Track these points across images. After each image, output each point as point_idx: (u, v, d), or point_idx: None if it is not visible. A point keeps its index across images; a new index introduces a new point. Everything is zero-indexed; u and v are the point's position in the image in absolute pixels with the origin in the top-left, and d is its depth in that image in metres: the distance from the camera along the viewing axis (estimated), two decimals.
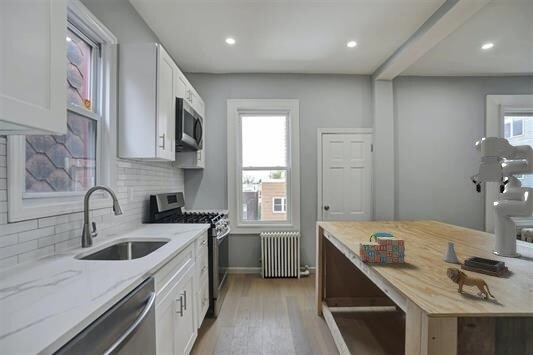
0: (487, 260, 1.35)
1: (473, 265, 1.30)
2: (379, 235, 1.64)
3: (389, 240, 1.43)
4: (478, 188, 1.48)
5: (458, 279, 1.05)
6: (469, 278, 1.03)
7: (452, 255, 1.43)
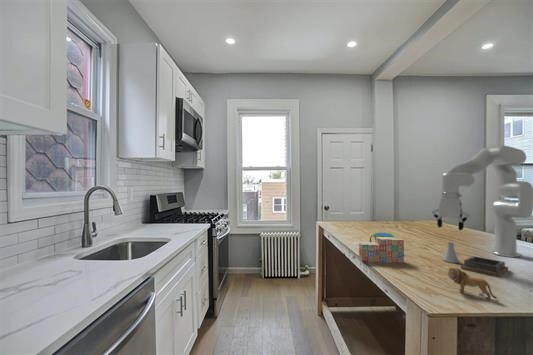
0: (487, 260, 1.35)
1: (473, 265, 1.30)
2: (379, 235, 1.64)
3: (388, 240, 1.43)
4: (439, 223, 1.48)
5: (459, 279, 1.04)
6: (471, 278, 1.03)
7: (452, 255, 1.43)
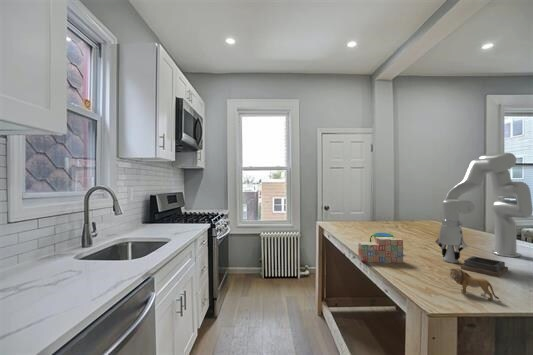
0: (487, 260, 1.35)
1: (473, 265, 1.30)
2: (379, 235, 1.64)
3: (388, 240, 1.43)
4: (444, 253, 1.47)
5: (461, 280, 1.04)
6: (473, 279, 1.02)
7: (452, 255, 1.43)
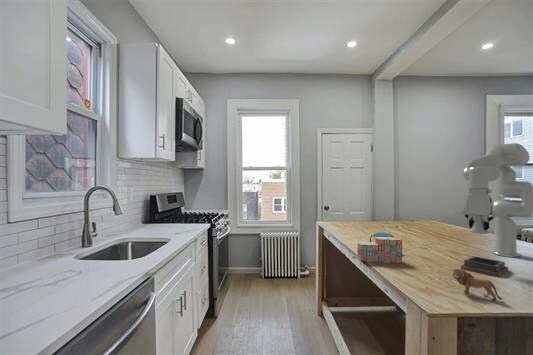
0: (487, 260, 1.35)
1: (473, 265, 1.30)
2: (379, 235, 1.64)
3: (387, 240, 1.43)
4: (471, 224, 1.36)
5: (464, 280, 1.03)
6: (476, 280, 1.02)
7: (481, 226, 1.32)
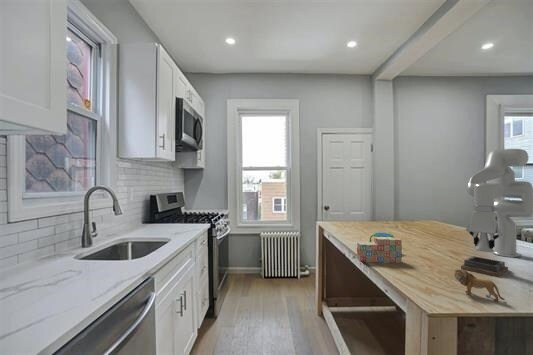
0: (487, 260, 1.35)
1: (473, 265, 1.30)
2: (379, 235, 1.64)
3: (386, 240, 1.43)
4: (476, 241, 1.34)
5: (466, 281, 1.03)
6: (478, 280, 1.01)
7: (486, 244, 1.30)
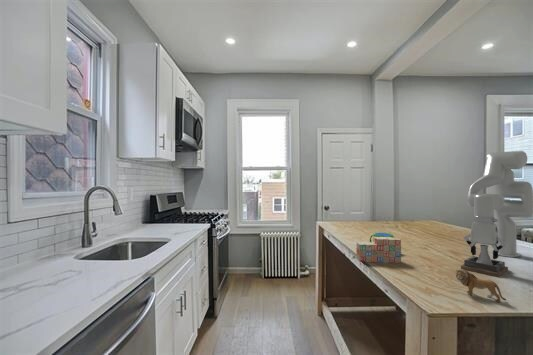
0: None
1: (473, 265, 1.30)
2: (379, 235, 1.64)
3: (386, 240, 1.44)
4: (473, 250, 1.35)
5: (468, 281, 1.02)
6: (479, 280, 1.01)
7: (487, 260, 1.30)
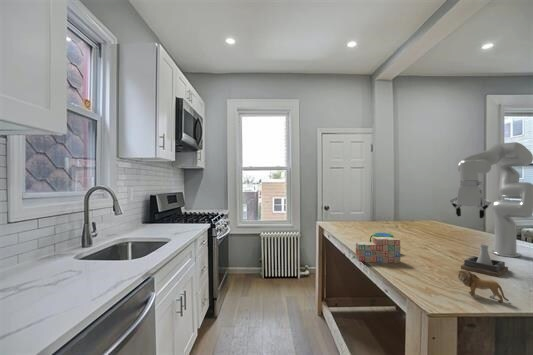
0: None
1: (473, 265, 1.30)
2: (379, 235, 1.64)
3: (385, 240, 1.44)
4: (458, 212, 1.45)
5: (470, 282, 1.02)
6: (482, 281, 1.00)
7: (487, 260, 1.30)
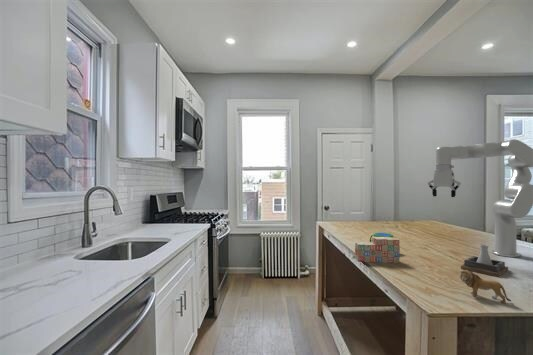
0: None
1: (473, 265, 1.30)
2: (379, 235, 1.64)
3: (384, 240, 1.44)
4: (434, 192, 1.65)
5: (473, 282, 1.01)
6: (484, 281, 1.00)
7: (487, 260, 1.30)
